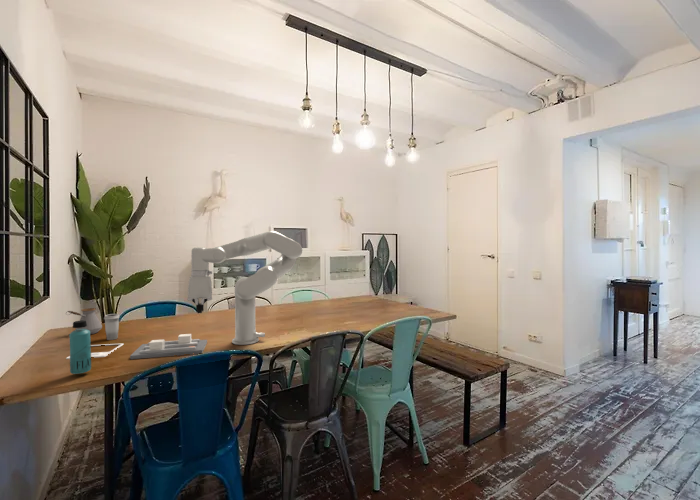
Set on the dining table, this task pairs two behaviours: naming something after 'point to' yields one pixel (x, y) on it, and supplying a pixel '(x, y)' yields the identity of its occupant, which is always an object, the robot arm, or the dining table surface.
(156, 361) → the dining table surface
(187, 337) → the switch tab
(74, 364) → the beverage bottle
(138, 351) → the switch panel
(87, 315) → the coffee pot
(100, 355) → the photo frame
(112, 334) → the cup
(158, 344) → the switch tab
